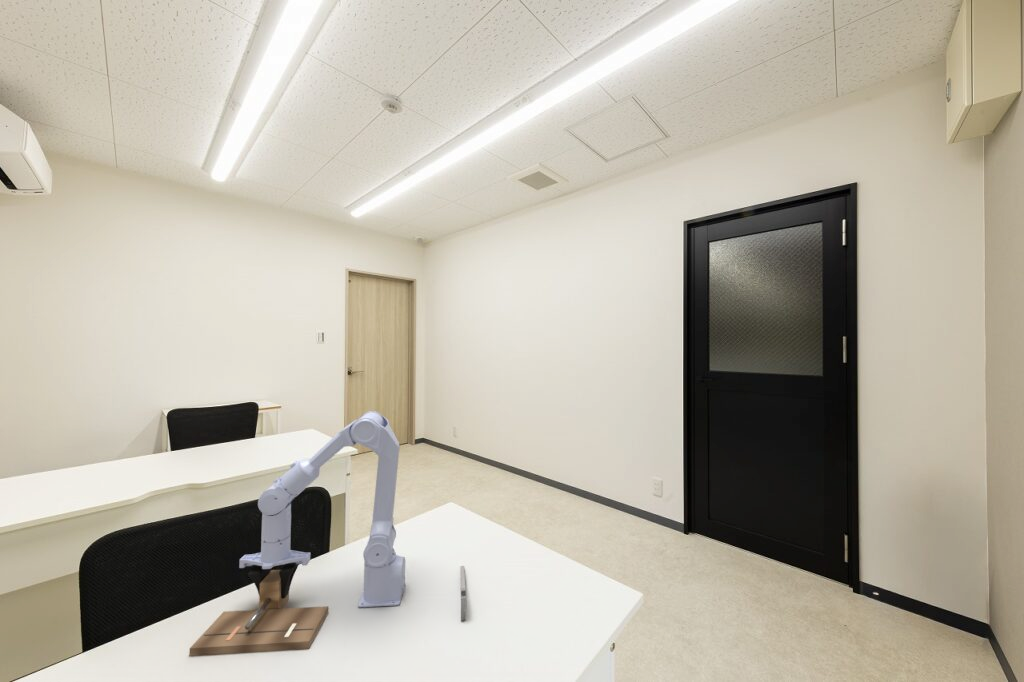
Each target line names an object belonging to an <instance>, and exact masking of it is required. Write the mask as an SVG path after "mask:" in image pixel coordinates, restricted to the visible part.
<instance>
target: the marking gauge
mask: <svg viewBox="0 0 1024 682" xmlns="http://www.w3.org/2000/svg"><path fill="white" fill-rule="evenodd" d="M280 570H281V569H270V572H269V574H268V575H267V576H266V577H265V578H264V579H263V580H262V582H261V583H260V593H258V597H259V601H258V609H257V610H258V611H257V612H256V613H255V614H254V616H253V617H252V618H251V619H250V621H249V622H248V623H247V624H246V626H245V629H247V630H248V633H249V632H250V631H251V626H252V625H253V623H254V622H255V621H256V620H257V618H258V617H259V616H260V614H261V613H262V612H263V611H264V610H265V609H284V606H285V605H286V603H288V601H289V599H290V592H289V593H288V595H287V596H286V597H285V598H283V599H282V598H281V578H280V575H279V572H280Z"/></svg>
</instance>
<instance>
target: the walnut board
mask: <svg viewBox="0 0 1024 682" xmlns="http://www.w3.org/2000/svg"><path fill="white" fill-rule="evenodd" d="M257 611H258V609H248V610H245V609H244V610H232V611H231V610H229V611H226V610H225V611H223V612H222V613H221V614H220V615H219V616H218V617H217V618H216V619H215V620H214V622H213V623H212V624H211V625H210V626H209V627H208V628H207V629H206V630H205V631H204V632H203V633H202V635H200V637H199V638H198V639H197V640H195V642H194V643H192V645H191V646H190V647H189V651H188V653H189V656H188V657H198V656H199V657H200V656H211V655H212V656H217V655H227V654H228V655H231V654H232V655H233V654H243V653H244V654H246V653H263V652H276V651H279V652H280V651H294V650H309V649H310V648H311V647H312V644H313V642H314V640H315V638H316V637H317V635H318V633H319V631H320V629H321V627H322V626H323V624H324V622H325V620H326V618H327V617H328V615H329V605H328V606H309V607H305V606H304V607H289V608H282V609H265V610H264V611H263V612H262V613H261V614H260V616H259V617H258V618H257V620H256V621H255V622H254V623H253V625H252V626H251V631H250V632H249V633H248V630H247V629H245V626H246V624H247V623H248V622H249V621H250V619H251V618H252V617H253V616H254V614H255V613H256V612H257Z"/></svg>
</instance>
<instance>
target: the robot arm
mask: <svg viewBox="0 0 1024 682" xmlns="http://www.w3.org/2000/svg"><path fill="white" fill-rule="evenodd" d="M356 444H358V445H361V446H363V447H365V448H367V449H370V450H371V451H372V452H373V453H374V454H375V455H377V456H378V459H377V467H376V468H377V469H376V480H375V490H374V499H373V500H374V501H373V509H372V510H373V511H372V512H373V513H372V522H371V528H370V533H369V536H368V537H369V538H368V541H367V543H366V546H365V548H364V550H363V560H364V561H363V562H364V564H363V565H364V567H363V592H362V594H361V597H360V599H359V601H358V604H357V608H369V607H389V606H392V607H393V606H400V604H401V601H402V598H403V594H404V592H405V591H404V590H405V587H406V557H405V556H401V555H397V552H396V551H395V549H394V543H395V541H396V537H397V530H396V529H395V525H394V521H395V520H394V510H395V509H394V508H395V500H396V488H397V477H398V469H399V459H400V458H399V457H400V447H401V446H400V442H399V440H398V439H397V437H396V434H395V433H394V431H393V429H392V428H391V425H390V422H389V419H388V418H386V417H385V416H383V415H382V414H381V413H380V412H378V411H375V410H370V411H366V412H365V413H363V414H362V415H361V416H360V418H359V419H358V418H357V419H355V420H353V421H352V422H350V423H349V424H348V425H345V427H343V428H342V429H341V430H340V431H338V432H337V433H336V434H335V435H334V436H333V437H332V438H331V439H330V440H328V442H326V443H325V444H324V445H323V446H322V447H321V448H320V449H319V450H318V451H317V452H316V453H315V454H314V455H313V456H312V457H310V458H301V459H299V461H297V460H295V461H294V462H293V463H292V464H290V465H289V467H290V469H288V470H287V471H286V472H285V473H284V474H283V475H282V476H278V477H277V478H275V479H274V481H273V484H272V485H270V486H269V487H268V488H267V489H265V490H264V491H263V492H262V493H261V494H260V496H259V498H258V500H257V507H258V509H259V511H260V512H261V514H262V515H261V536H260V537H261V541H260V543H261V544H260V545H261V546H260V552H256V553H252V554H244V555H243V556H241V558H239V562H238V563H239V567H238V568H239V569H244V568H246V567H251V570H250V571H249V572H248V577H249V578H250V580H252V582H253V584H254V585H255V587H256V590H257V593H258V594H259V593H260V583H261V582H262V580H263V579H264V578H265V577H266V576H267V575H268V574H269V573H270V571H271V570H272V569H273V567H276V566H283V565H284V566H283V567H282V568H281V569H279V570H280V572H279V575H280V578H281V598H282V599H283V598H285V597H286V596H287V595H288V593H289V594H290V588H291V584H292V581H293V579H294V575H295V574H296V571H297V569H298V567H299V565H302V566H303V567H304V566H307V565H309V563H310V561H311V552H306V551H305V552H304V551H299V550H292V549H291V533H292V532H291V531H292V529H291V528H292V527H291V526H292V501H293V500H295V498H296V497H298V496H299V495H300V494H301V493H302V492H304V490H305V489H306V488H308V487H309V486H310V485H311V484H312V483H313V482H315V481H316V480H317V478H319V476H320V472H321V471H320V469H321V467H322V466H324V465H326V463H327V462H328V461H329V460H331V459H332V458H333V457H334V456H336V455H337V454H338V453H339V452H340V451H341V450H342V449H344V448H345V447H355V445H356Z"/></svg>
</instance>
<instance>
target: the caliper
mask: <svg viewBox="0 0 1024 682" xmlns="http://www.w3.org/2000/svg"><path fill="white" fill-rule="evenodd" d="M465 576H466V575H465V565H460V621H461V622H462V621H464V622H465V621H466V603H467V601H466V600H467V599H466V598H467V597H466V593H467V592H466V579H465Z"/></svg>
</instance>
